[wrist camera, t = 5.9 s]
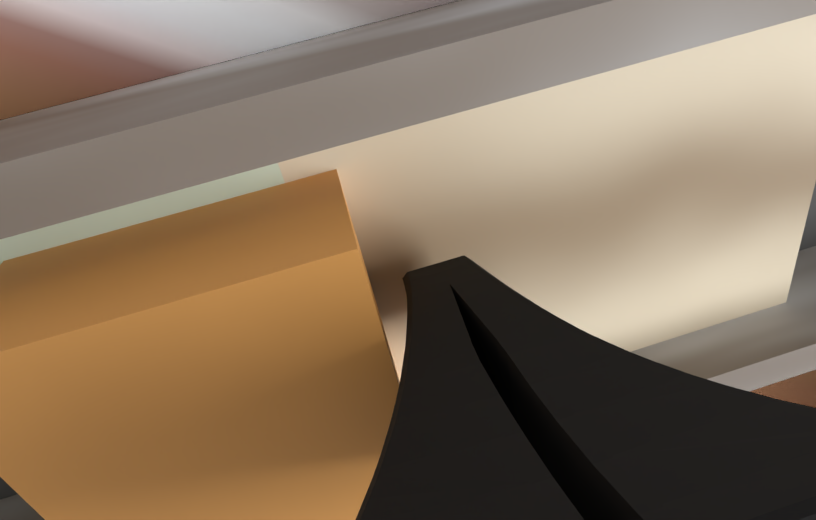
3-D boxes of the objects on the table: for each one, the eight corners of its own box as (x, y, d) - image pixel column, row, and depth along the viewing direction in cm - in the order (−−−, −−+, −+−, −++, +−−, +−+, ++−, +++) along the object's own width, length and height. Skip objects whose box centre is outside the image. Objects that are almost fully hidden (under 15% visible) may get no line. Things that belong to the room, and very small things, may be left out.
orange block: (403, 392, 13) (434, 501, 10) (159, 468, 12) (130, 601, 10) (336, 169, 10) (358, 248, 7) (3, 260, 9) (-100, 381, 7)
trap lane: (967, 215, 17) (1113, 271, 14) (-186, 576, 14) (-303, 737, 12) (1138, -177, 12) (1431, -219, 9) (-659, 292, 9) (-1109, 458, 6)
